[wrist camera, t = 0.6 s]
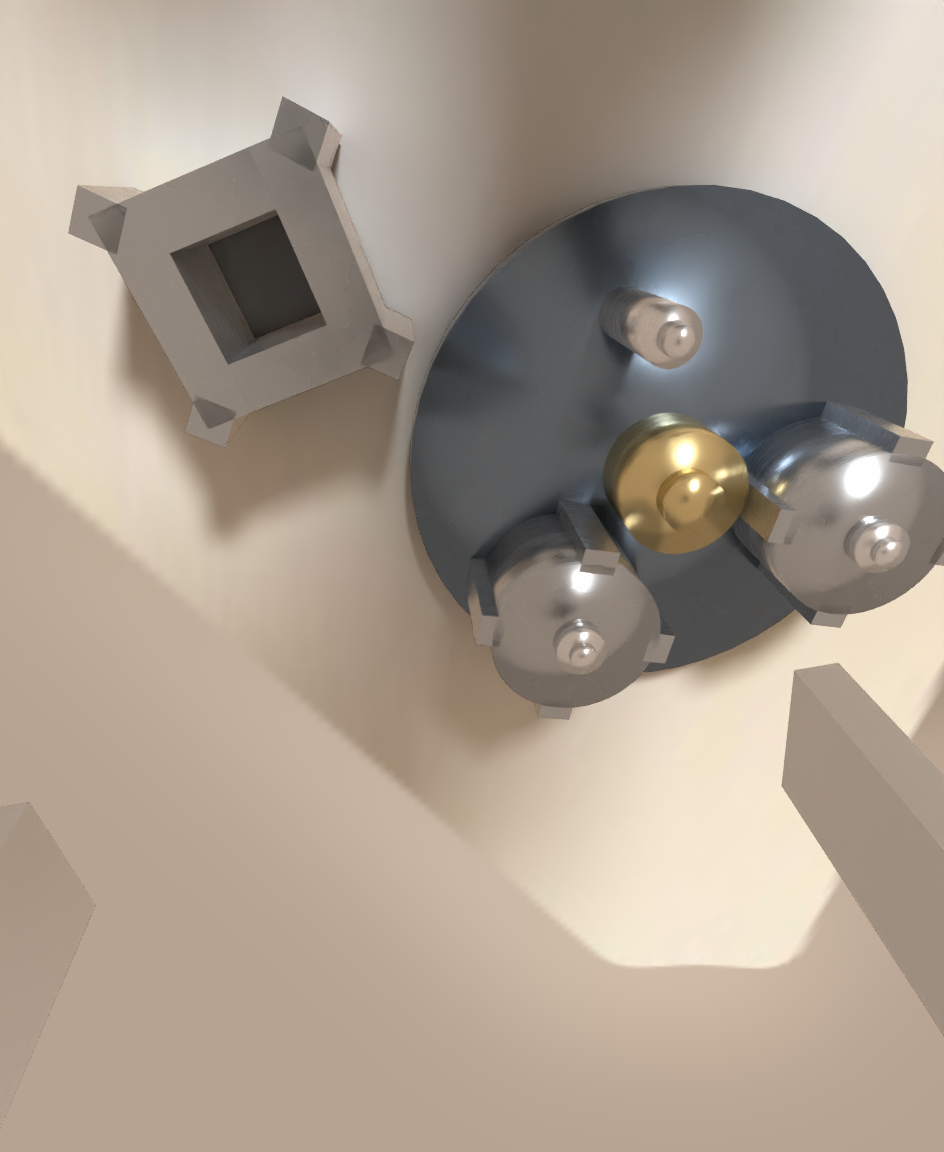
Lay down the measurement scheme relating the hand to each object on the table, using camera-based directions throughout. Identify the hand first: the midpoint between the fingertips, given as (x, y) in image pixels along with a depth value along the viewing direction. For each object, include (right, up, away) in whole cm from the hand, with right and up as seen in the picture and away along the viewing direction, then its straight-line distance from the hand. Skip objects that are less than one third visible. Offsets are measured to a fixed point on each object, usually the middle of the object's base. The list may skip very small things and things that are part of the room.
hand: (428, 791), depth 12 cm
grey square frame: (-7, +15, +14) cm, 22 cm away
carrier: (+9, +9, +19) cm, 23 cm away
